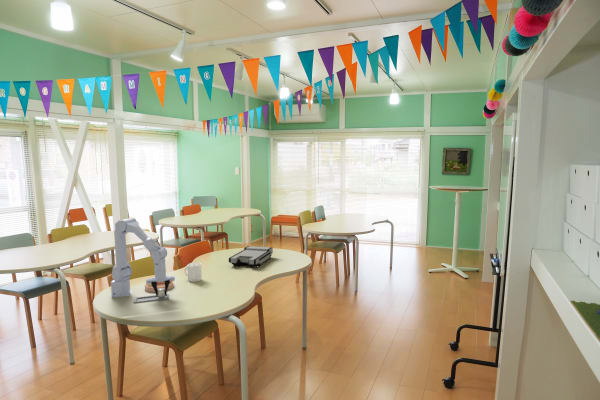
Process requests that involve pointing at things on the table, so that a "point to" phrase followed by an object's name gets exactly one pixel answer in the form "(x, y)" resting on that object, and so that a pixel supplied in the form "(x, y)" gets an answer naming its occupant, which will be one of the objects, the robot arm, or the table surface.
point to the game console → (252, 256)
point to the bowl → (159, 286)
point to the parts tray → (150, 298)
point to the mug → (193, 272)
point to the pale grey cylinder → (161, 292)
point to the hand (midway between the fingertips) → (161, 294)
